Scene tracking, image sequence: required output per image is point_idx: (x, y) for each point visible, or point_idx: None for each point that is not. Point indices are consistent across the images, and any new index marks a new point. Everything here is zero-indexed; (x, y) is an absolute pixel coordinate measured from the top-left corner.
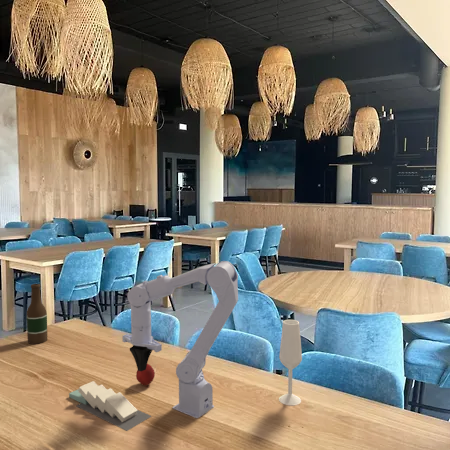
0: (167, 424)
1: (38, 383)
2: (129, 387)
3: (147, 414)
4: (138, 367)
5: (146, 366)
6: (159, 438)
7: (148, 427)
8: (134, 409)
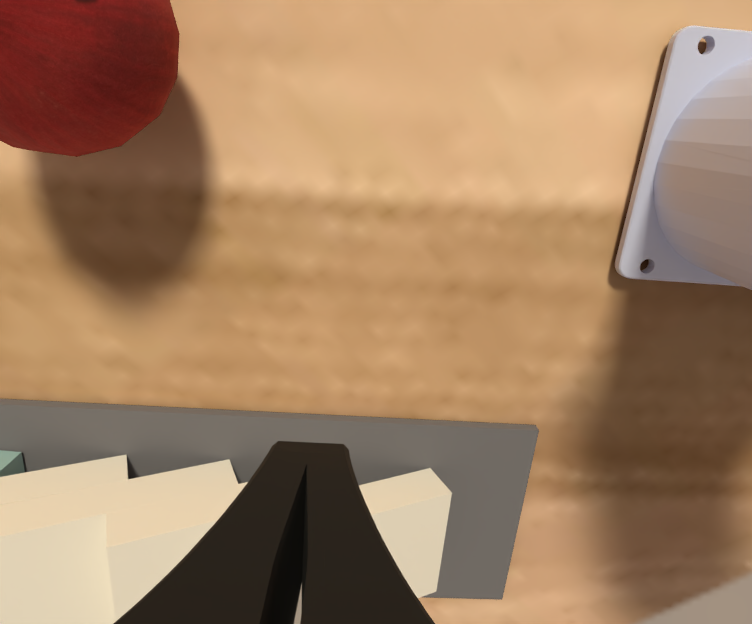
0: (675, 431)
1: None
2: (19, 168)
3: (499, 432)
4: (299, 594)
5: (351, 465)
6: (699, 546)
7: (581, 507)
8: (434, 508)
